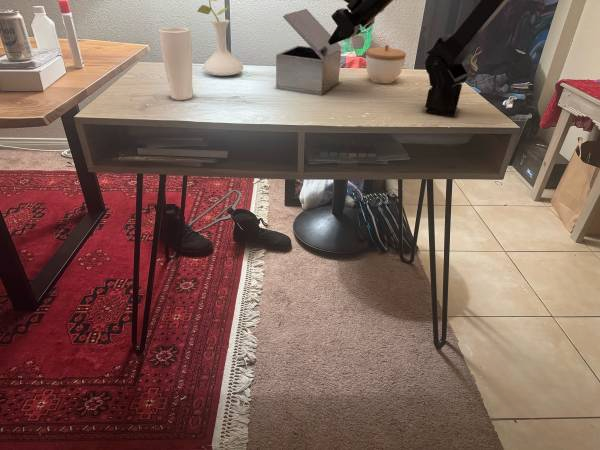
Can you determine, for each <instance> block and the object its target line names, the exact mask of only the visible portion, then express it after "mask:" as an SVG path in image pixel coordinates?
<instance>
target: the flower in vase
mask: <svg viewBox="0 0 600 450" xmlns="http://www.w3.org/2000/svg"><path fill="white" fill-rule="evenodd" d="M212 1H213V2H216V1H218V0H212ZM208 5H209V6H207V5H206V4H202V5H201V6H199V8H198V9H197V11H196V12H198V13H201V14H204V15H209V14H211V13H212V14H213V15H214V17H215V19H211V20H210V22H211V24H212V25H213V27H214V31H215V34H216V40H217V41H216V42H217V45H216V47H217V48H216V50H215V52H214V53H213V54H212V55H211V56H210V57H209V58H208V59H206V61H205V62H204V63H203V65H202V70H203V71H204V73H207V74H210V75H213V76H222V77H223V76H224V77H226V76H234V75H238V74H240V73H241V72H242V71H243V70H244V68H245V67H244V65H243V63H242V62H241V60H239V59H238V58H236V56H234V55H233V54H232V53H231V52H230V51H229V49H228V47H227V42H226V40H227V39H226V34H227V28H228V25H229V23H230V22H231V20H230V19H224V18H223V19H221V18H220V19H219V18H218V16H219V15H222V14H223V13H225V12H226V11H227V10H228V9H229V5H228V6H227V7H226V8H223V9H221V10H219V11H218V12H217V14H216V13H215V12H214V10H213V8H212V5H211V0H208Z"/></svg>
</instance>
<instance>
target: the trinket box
mask: <svg viewBox="0 0 600 450" xmlns="http://www.w3.org/2000/svg"><path fill="white" fill-rule="evenodd" d="M365 54H366V57H365V69H366V73H367V75H368V76H369V78H370V79H371V81H372V82H374V83H378V84H392V83H394V81H395V80H396V79H397V78H398V77H399V76H400V75H401V74H402V71H403V68H404V65H405V60H406V57H407V53H406V51H404V50H401V49H396V48H392V47H391V48H390V45H389V44H385V45H384V47H371V48H368V49H367V50H366V51H365Z"/></svg>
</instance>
